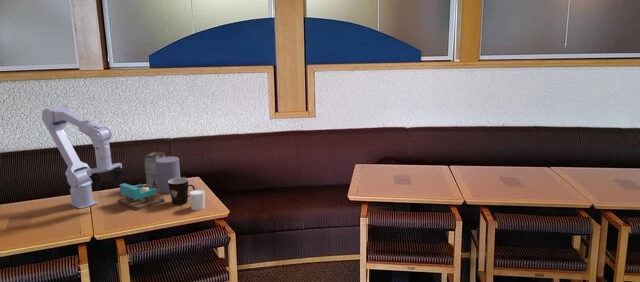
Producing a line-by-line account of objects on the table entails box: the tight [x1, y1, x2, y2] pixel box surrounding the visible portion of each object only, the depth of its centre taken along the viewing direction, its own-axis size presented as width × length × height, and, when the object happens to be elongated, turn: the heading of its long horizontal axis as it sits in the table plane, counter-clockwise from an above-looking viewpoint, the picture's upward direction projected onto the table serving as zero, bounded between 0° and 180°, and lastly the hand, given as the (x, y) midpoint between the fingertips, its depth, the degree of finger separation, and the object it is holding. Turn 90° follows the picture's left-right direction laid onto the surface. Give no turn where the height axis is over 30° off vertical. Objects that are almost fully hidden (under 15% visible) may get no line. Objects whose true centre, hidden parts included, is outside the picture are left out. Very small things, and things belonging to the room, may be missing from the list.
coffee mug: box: [168, 177, 196, 206], centre depth 226 cm, size 12×9×10 cm
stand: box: [117, 186, 165, 211], centre depth 230 cm, size 13×16×6 cm
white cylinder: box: [188, 189, 206, 211], centre depth 221 cm, size 7×7×7 cm
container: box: [156, 156, 181, 195], centre depth 243 cm, size 10×10×15 cm
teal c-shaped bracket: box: [118, 182, 158, 200], centre depth 228 cm, size 10×12×4 cm
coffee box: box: [143, 151, 166, 190], centre depth 249 cm, size 9×6×16 cm
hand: (107, 187), depth 220 cm, fingers open, 7 cm apart
